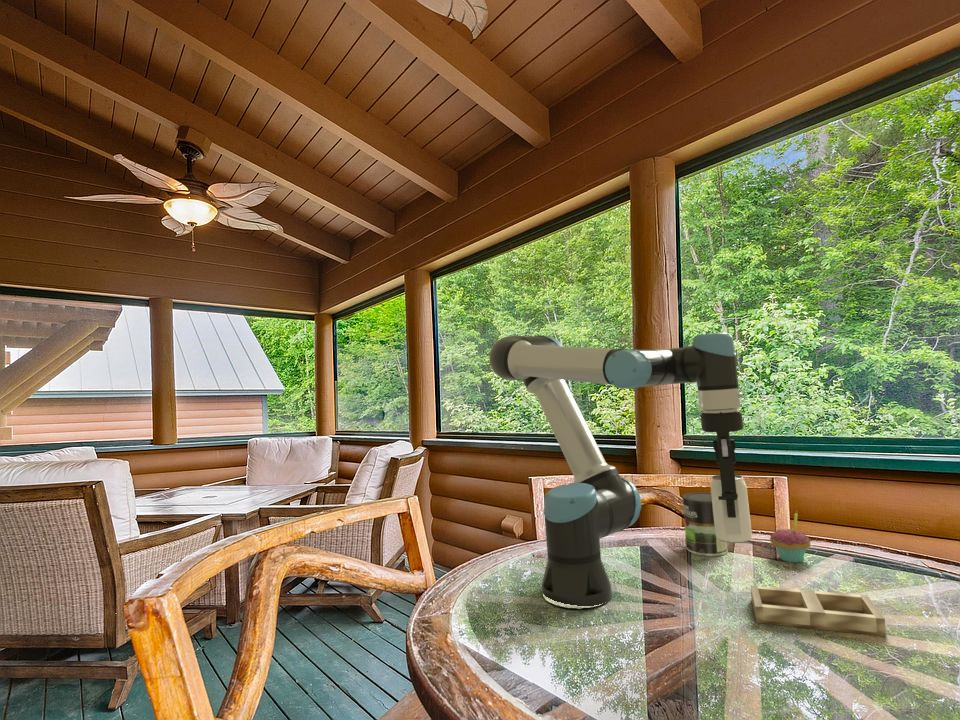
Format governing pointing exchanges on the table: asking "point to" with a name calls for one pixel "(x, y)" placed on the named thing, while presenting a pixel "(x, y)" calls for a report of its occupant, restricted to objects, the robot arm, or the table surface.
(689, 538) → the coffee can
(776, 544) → the cupcake
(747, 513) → the can
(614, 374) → the robot arm
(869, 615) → the tan two-compartment tray
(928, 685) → the table surface
